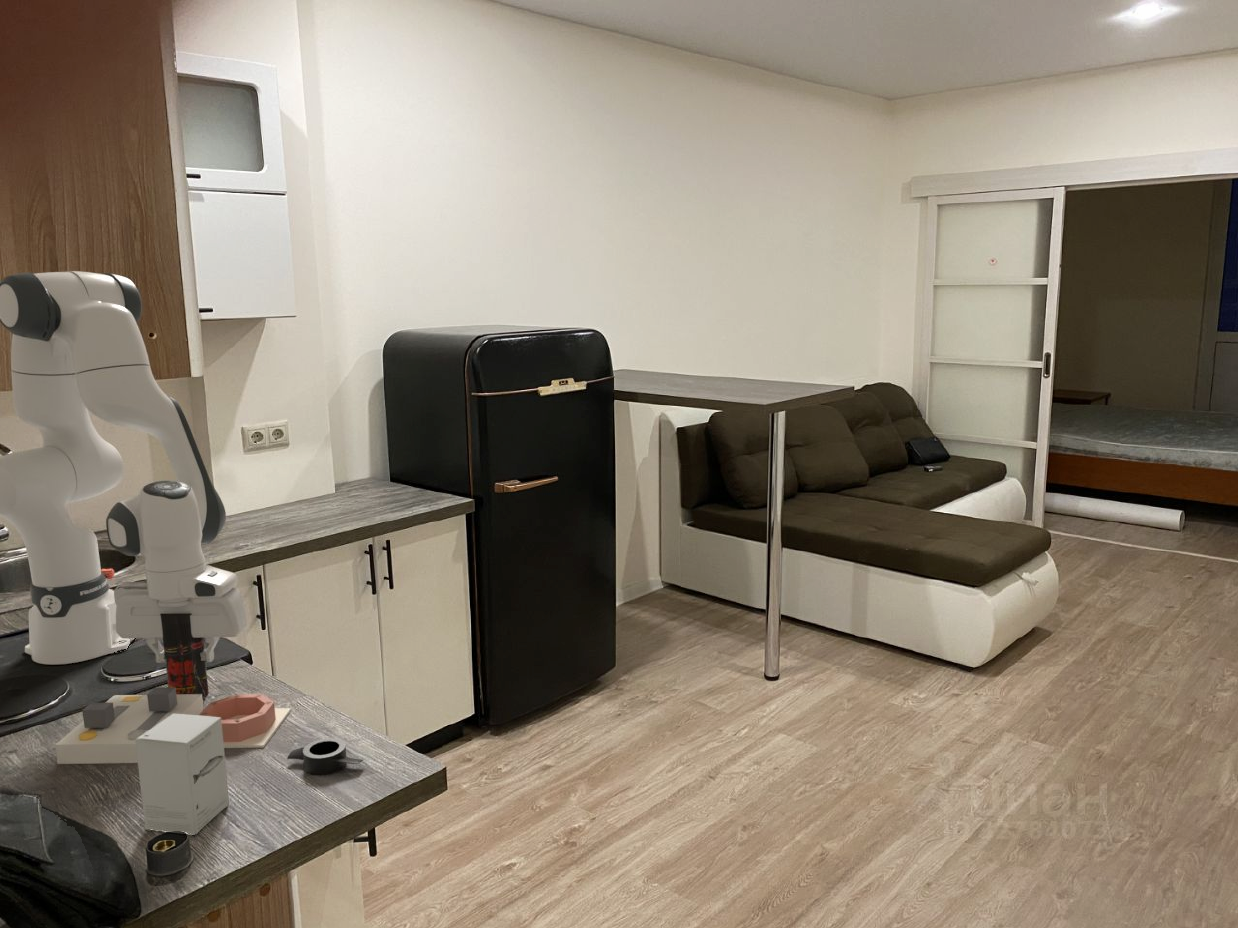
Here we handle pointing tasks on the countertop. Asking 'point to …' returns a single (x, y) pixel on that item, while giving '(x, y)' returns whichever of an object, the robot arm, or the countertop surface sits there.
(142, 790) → the supplement box
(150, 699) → the untagged switch
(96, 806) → the countertop surface
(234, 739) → the ring
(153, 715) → the breaker panel
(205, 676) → the deodorant
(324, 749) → the black finned ring
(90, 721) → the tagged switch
